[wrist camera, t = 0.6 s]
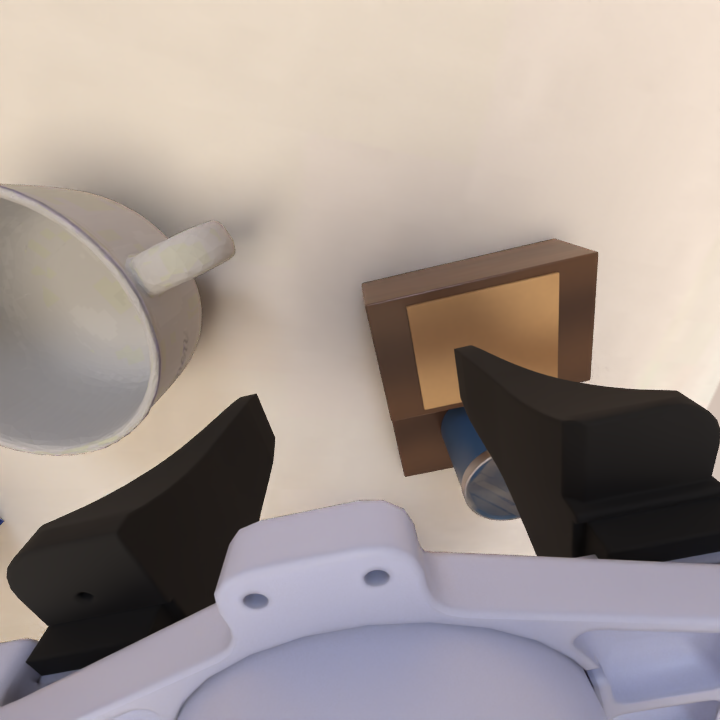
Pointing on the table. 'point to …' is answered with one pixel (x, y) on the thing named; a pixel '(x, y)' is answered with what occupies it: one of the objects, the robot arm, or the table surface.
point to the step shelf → (477, 331)
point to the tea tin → (476, 469)
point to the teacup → (92, 315)
